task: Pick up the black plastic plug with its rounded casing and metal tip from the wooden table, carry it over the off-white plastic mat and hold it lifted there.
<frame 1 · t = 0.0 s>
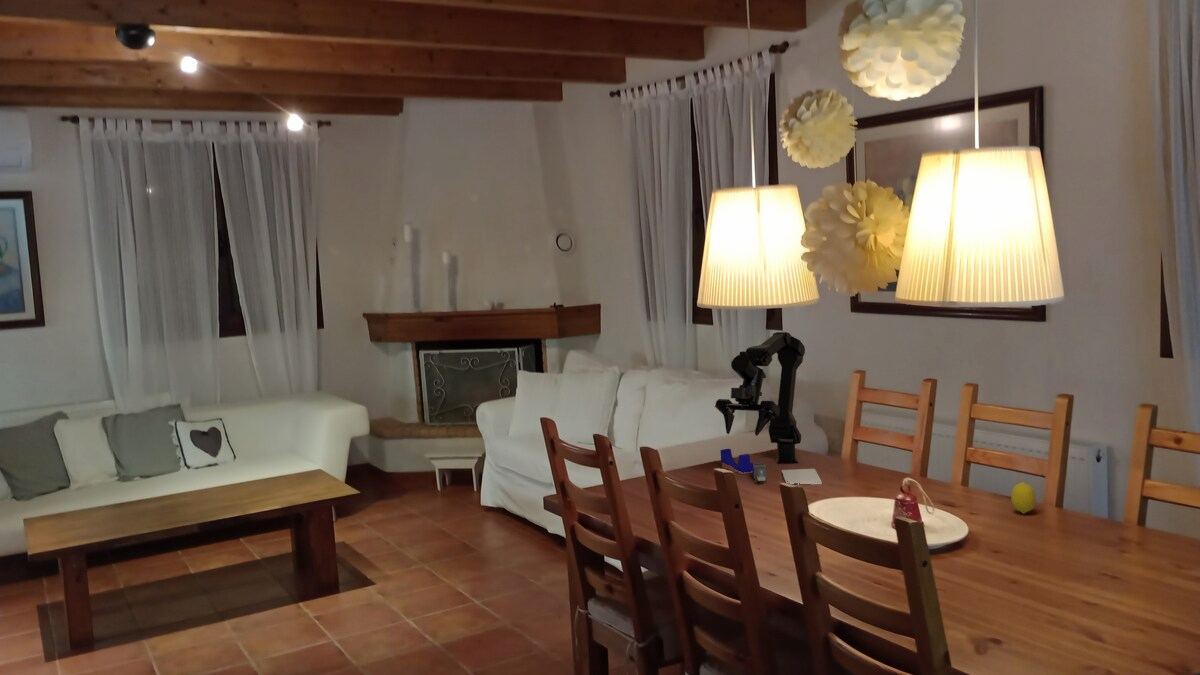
hand: (741, 434, 278), 15 cm above the table, tool tilted 35°, fingers open, 9 cm apart
mat: (801, 478, 282), on the table
connector: (760, 479, 284), on the table
cable clip: (737, 471, 298), on the table
lemon: (1023, 514, 232), on the table
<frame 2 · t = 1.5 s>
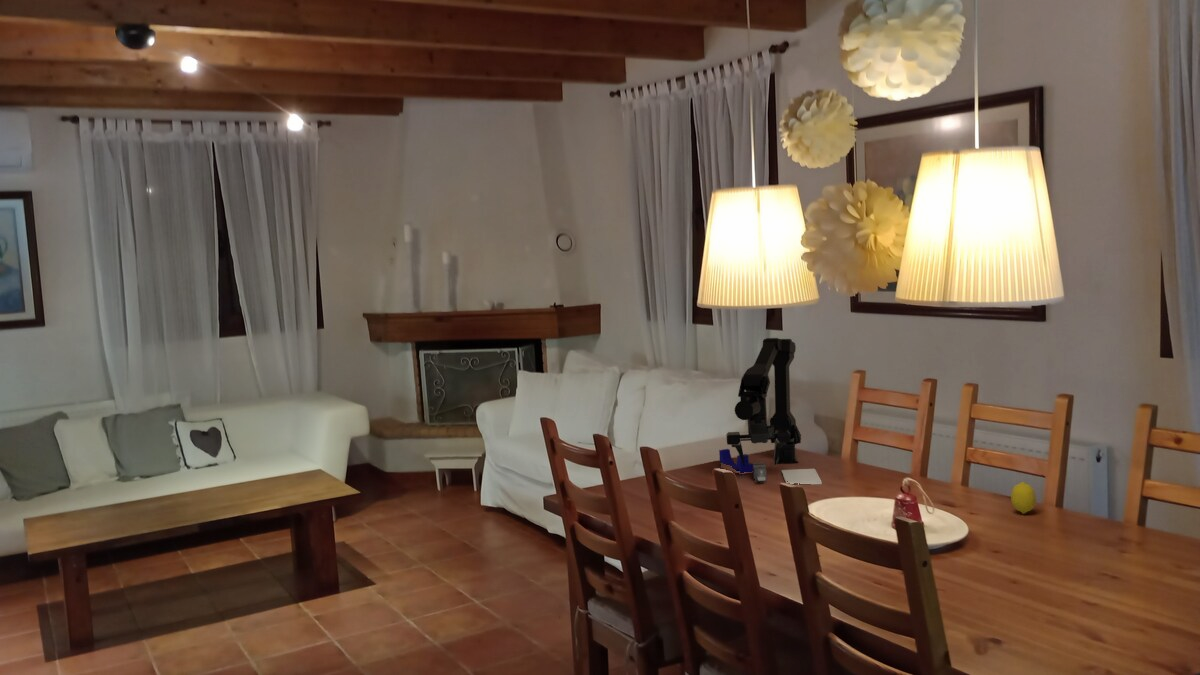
hand: (759, 465, 284), 4 cm above the table, tool pointing down, fingers open, 9 cm apart
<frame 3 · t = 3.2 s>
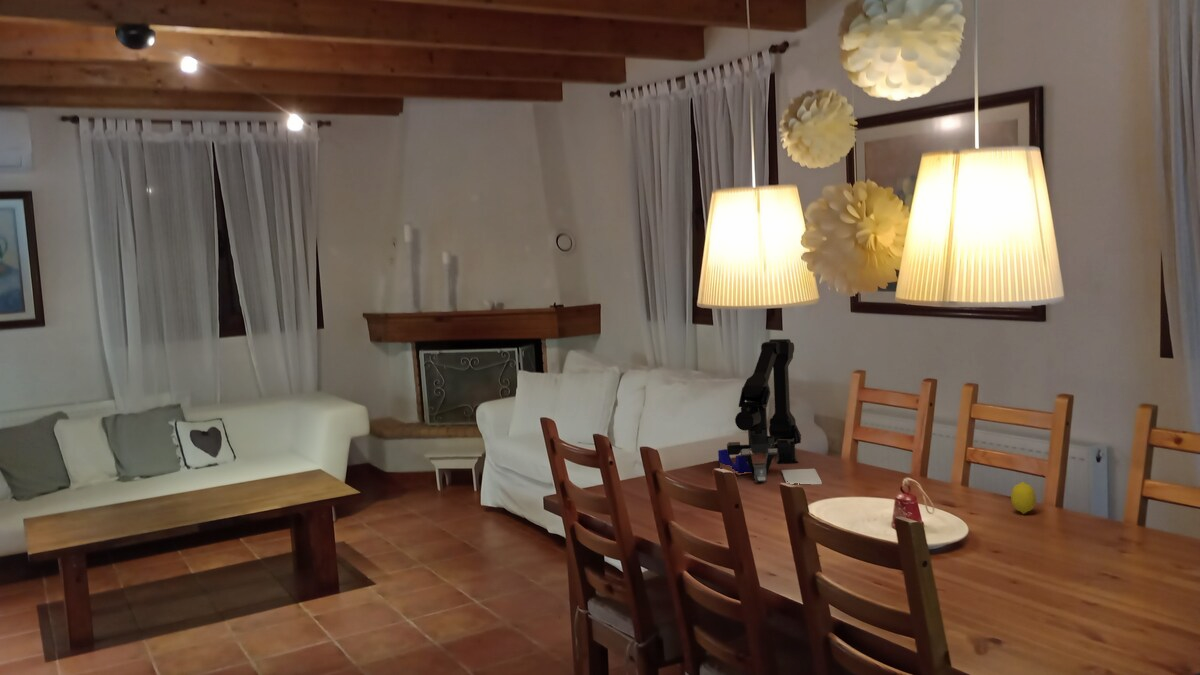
hand: (759, 475, 284), 1 cm above the table, tool pointing down, fingers closed on connector, 3 cm apart
connector: (760, 479, 284), on the table, touching gripper
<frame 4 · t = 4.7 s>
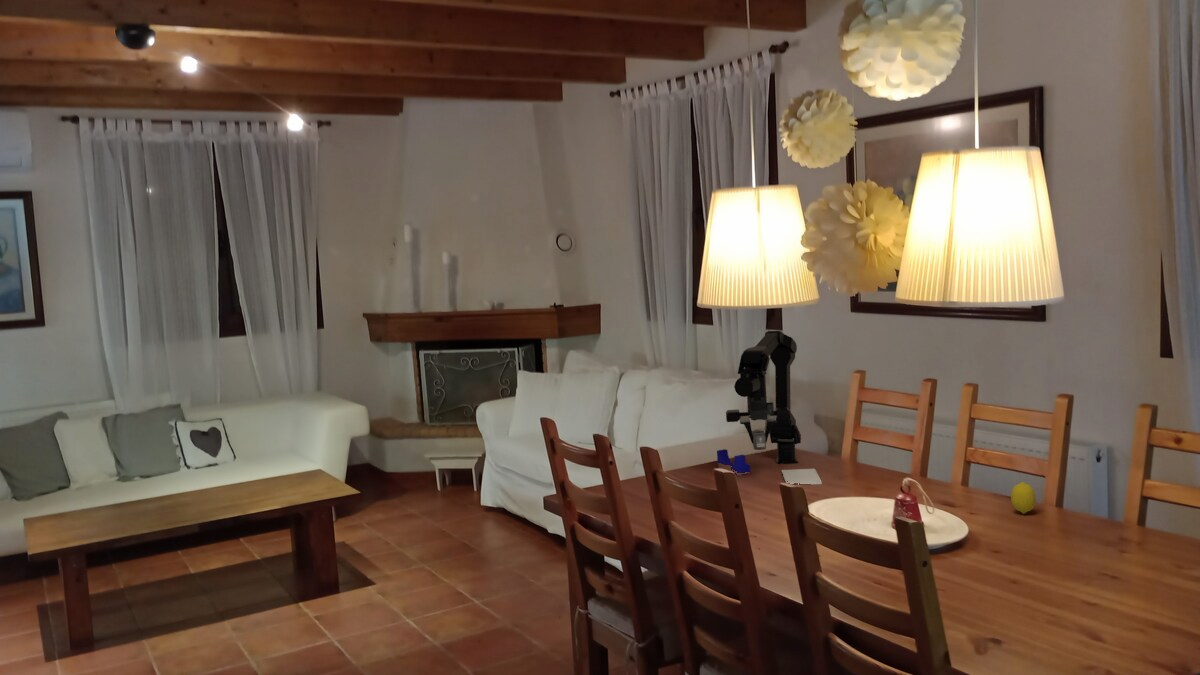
hand: (759, 443, 283), 11 cm above the table, tool pointing down, fingers closed on connector, 3 cm apart
connector: (759, 446, 283), point 10 cm above the table, touching gripper
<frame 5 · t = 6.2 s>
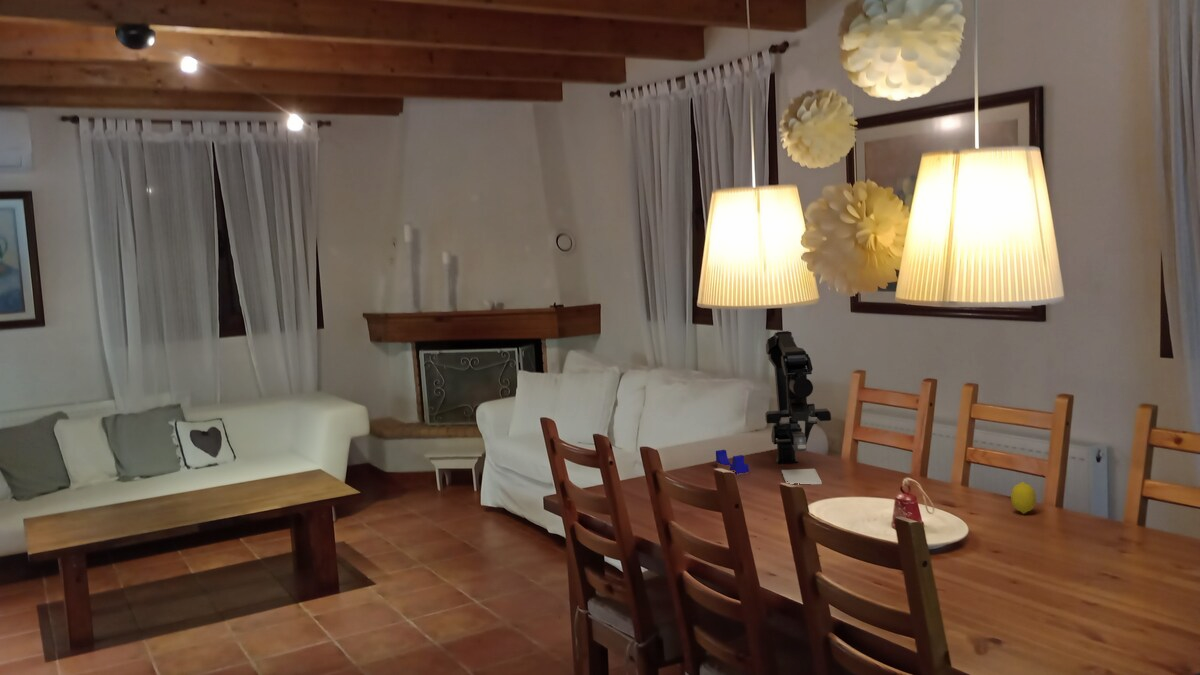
hand: (799, 444, 282), 10 cm above the table, tool pointing down, fingers closed on connector, 3 cm apart
connector: (799, 447, 282), point 9 cm above the table, touching gripper
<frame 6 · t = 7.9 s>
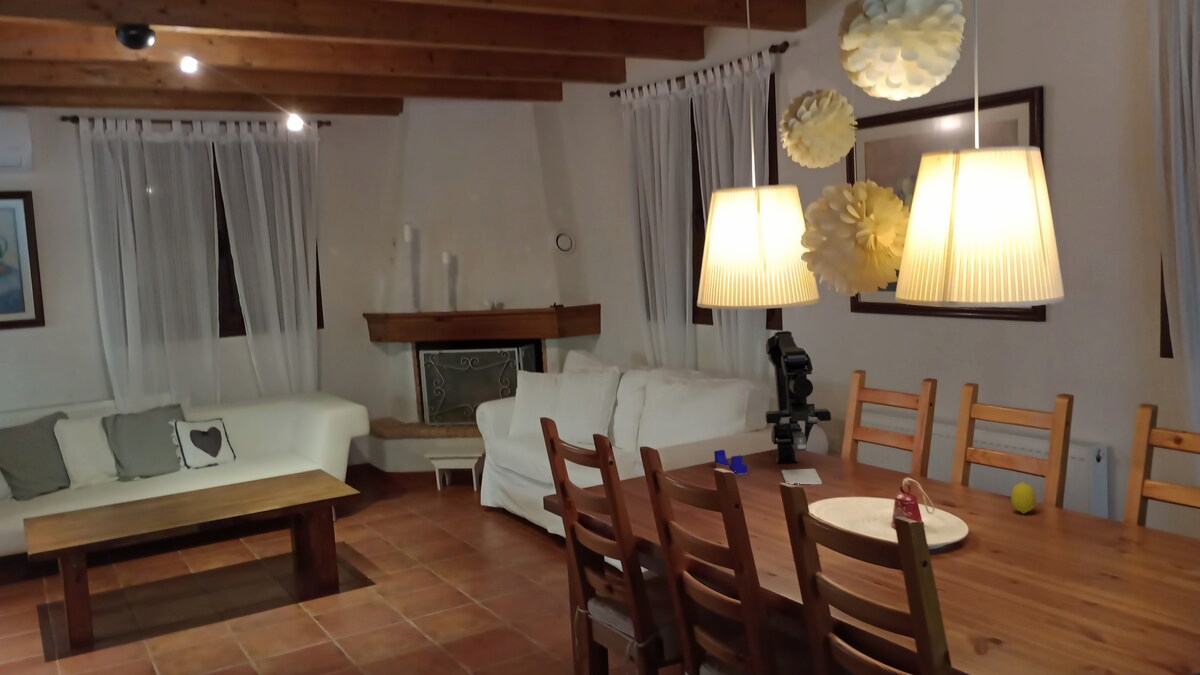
hand: (799, 444, 282), 10 cm above the table, tool pointing down, fingers closed on connector, 3 cm apart
connector: (799, 447, 282), point 9 cm above the table, touching gripper
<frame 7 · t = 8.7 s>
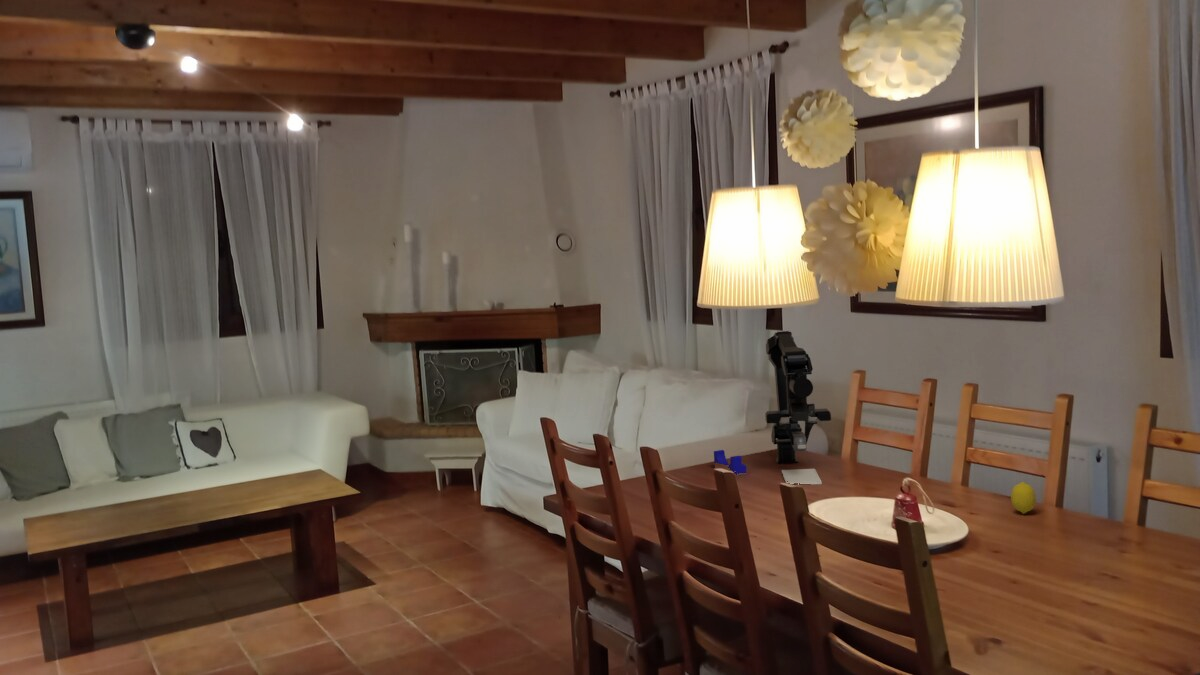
hand: (799, 444, 282), 10 cm above the table, tool pointing down, fingers closed on connector, 3 cm apart
connector: (799, 447, 282), point 9 cm above the table, touching gripper
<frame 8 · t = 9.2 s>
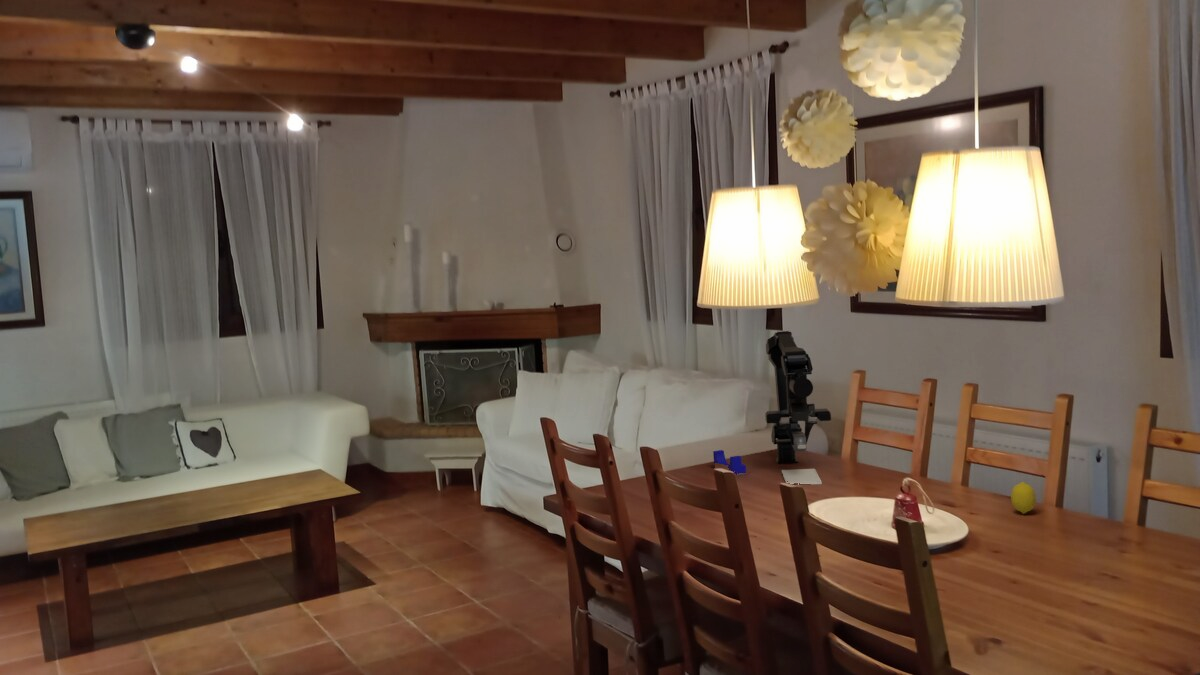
hand: (799, 444, 282), 10 cm above the table, tool pointing down, fingers closed on connector, 3 cm apart
connector: (799, 447, 282), point 9 cm above the table, touching gripper
at the end: the gripper is holding connector; connector inside the target area (1.0 cm from its centre), point 8.9 cm above the table; connector touching gripper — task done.
